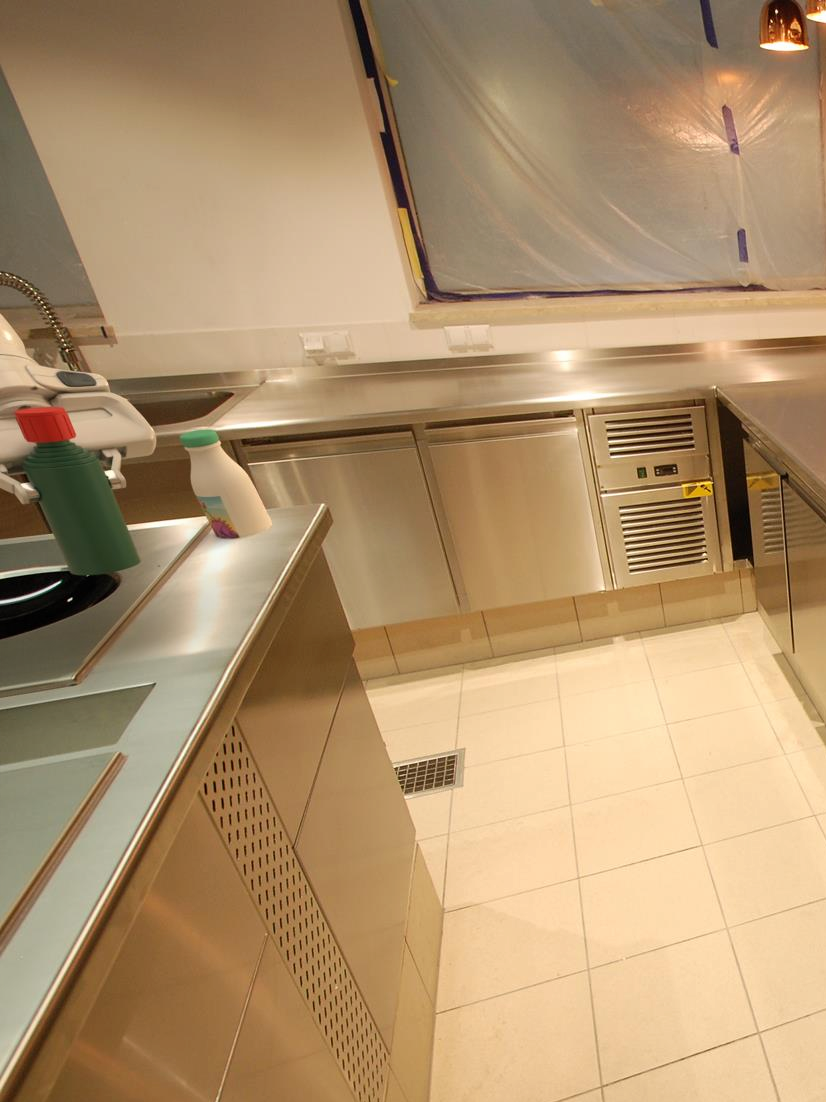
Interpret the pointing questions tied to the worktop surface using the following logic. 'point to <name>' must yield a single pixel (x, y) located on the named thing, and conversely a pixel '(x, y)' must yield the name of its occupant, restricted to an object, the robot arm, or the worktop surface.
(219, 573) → the worktop surface
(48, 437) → the cap
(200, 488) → the milk bottle
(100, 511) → the bottle
